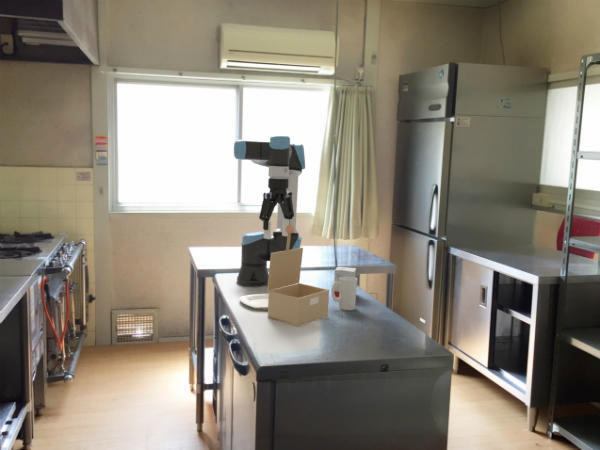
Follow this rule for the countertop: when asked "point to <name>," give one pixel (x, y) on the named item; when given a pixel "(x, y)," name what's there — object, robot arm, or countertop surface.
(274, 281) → the flap
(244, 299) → the plate
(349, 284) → the mug
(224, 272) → the countertop surface
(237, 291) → the countertop surface
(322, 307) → the carton
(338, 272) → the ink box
